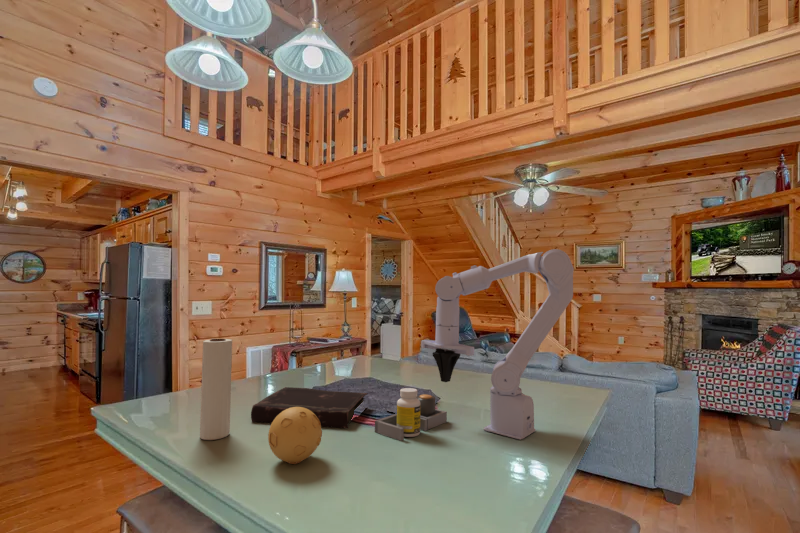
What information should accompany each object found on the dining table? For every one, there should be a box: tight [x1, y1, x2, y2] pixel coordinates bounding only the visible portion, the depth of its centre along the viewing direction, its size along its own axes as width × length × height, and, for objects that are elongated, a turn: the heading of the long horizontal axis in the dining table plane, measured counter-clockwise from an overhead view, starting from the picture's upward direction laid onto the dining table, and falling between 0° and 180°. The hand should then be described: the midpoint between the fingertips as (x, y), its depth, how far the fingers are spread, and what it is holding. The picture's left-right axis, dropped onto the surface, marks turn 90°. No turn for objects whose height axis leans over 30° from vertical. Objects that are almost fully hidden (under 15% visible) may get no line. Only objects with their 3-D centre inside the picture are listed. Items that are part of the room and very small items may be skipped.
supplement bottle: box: [396, 387, 421, 438], centre depth 91 cm, size 5×5×10 cm
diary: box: [250, 386, 369, 430], centre depth 105 cm, size 19×25×5 cm
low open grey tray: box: [374, 393, 448, 442], centre depth 99 cm, size 17×17×6 cm
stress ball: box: [267, 407, 323, 465], centre depth 76 cm, size 10×10×10 cm
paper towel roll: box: [199, 338, 233, 441], centre depth 90 cm, size 7×6×21 cm
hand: (445, 381), depth 98 cm, fingers closed
